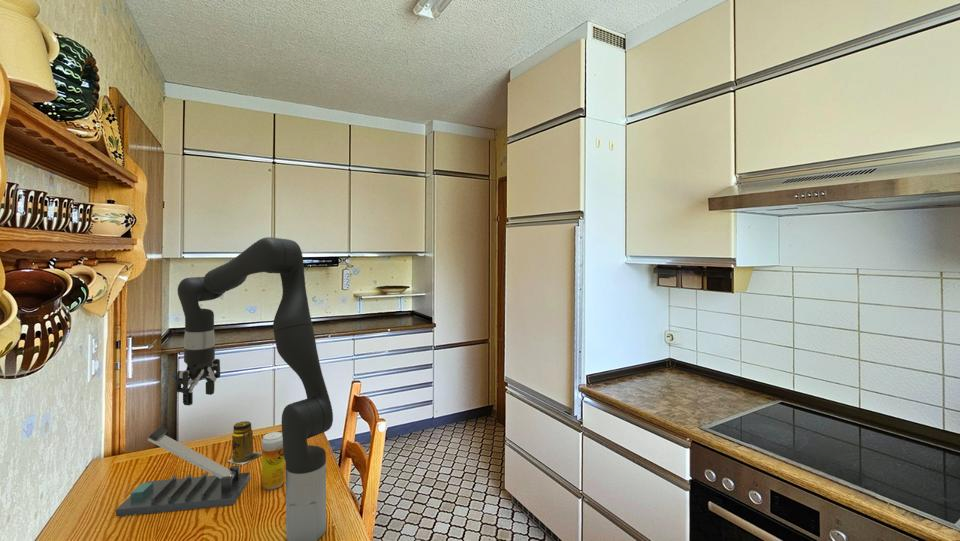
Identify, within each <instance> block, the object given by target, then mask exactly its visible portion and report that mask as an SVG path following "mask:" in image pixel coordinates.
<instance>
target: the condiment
mask: <svg viewBox="0 0 960 541" xmlns="http://www.w3.org/2000/svg"><path fill="white" fill-rule="evenodd" d="M253 432H254V431H253V430H252V422H250V421H239V422H236V423H235V424H234V425H233V431H232V435H231V438H232V441H231V442H232V458H230V459H228V460H227V462H229V463H232V464H237V465H241V466H242V465H243V466H244V465H245V464H247V463H249V462H251V461H253V460H254V459H256V458H258V457H260V456H262V452H258V451H254V436H253V435H254V433H253Z"/></svg>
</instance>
